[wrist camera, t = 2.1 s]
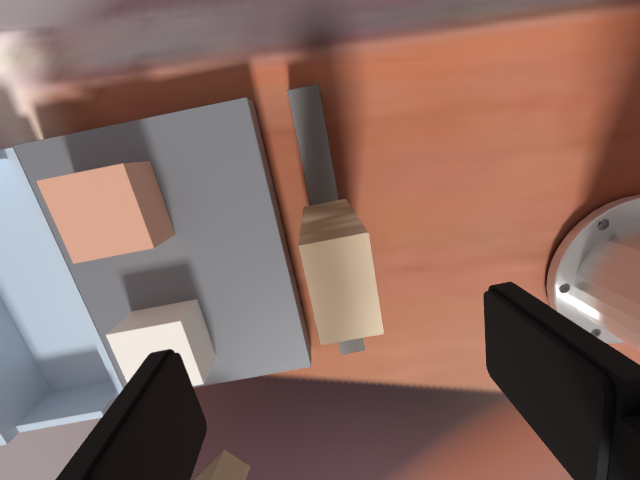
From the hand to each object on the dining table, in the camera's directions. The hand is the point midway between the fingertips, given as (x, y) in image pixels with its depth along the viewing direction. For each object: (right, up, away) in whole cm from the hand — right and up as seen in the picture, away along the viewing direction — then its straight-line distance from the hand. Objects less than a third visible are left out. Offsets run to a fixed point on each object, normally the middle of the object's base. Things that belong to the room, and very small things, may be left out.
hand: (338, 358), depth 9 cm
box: (-22, 0, +15) cm, 27 cm away
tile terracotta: (-13, +6, +11) cm, 19 cm away
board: (-11, +2, +15) cm, 19 cm away
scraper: (0, +4, +15) cm, 16 cm away
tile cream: (-12, -4, +14) cm, 19 cm away
